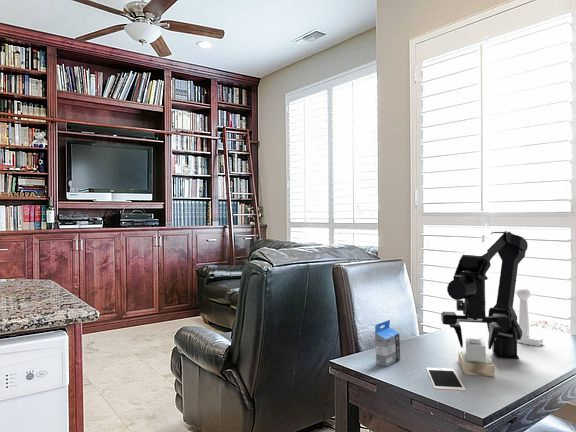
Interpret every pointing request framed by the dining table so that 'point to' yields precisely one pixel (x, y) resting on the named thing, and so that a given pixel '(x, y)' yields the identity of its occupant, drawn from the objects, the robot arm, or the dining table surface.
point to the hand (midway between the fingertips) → (475, 348)
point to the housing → (475, 349)
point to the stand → (476, 366)
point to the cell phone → (445, 379)
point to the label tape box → (386, 344)
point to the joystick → (526, 319)
